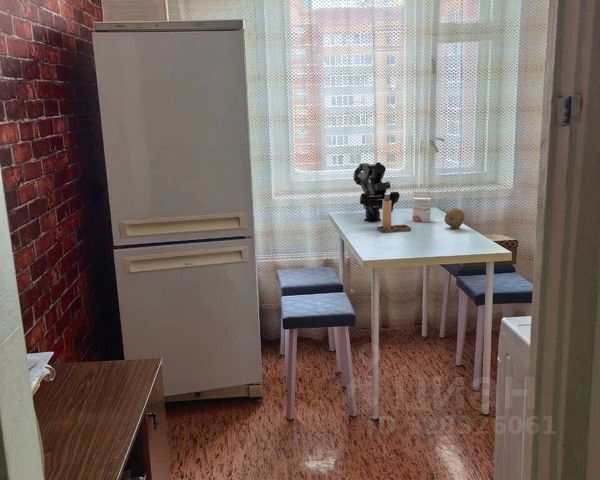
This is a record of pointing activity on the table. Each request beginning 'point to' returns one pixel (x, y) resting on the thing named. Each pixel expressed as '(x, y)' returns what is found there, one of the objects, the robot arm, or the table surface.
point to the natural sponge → (454, 218)
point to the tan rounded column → (387, 213)
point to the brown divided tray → (394, 228)
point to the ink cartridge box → (421, 206)
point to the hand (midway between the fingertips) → (382, 212)
